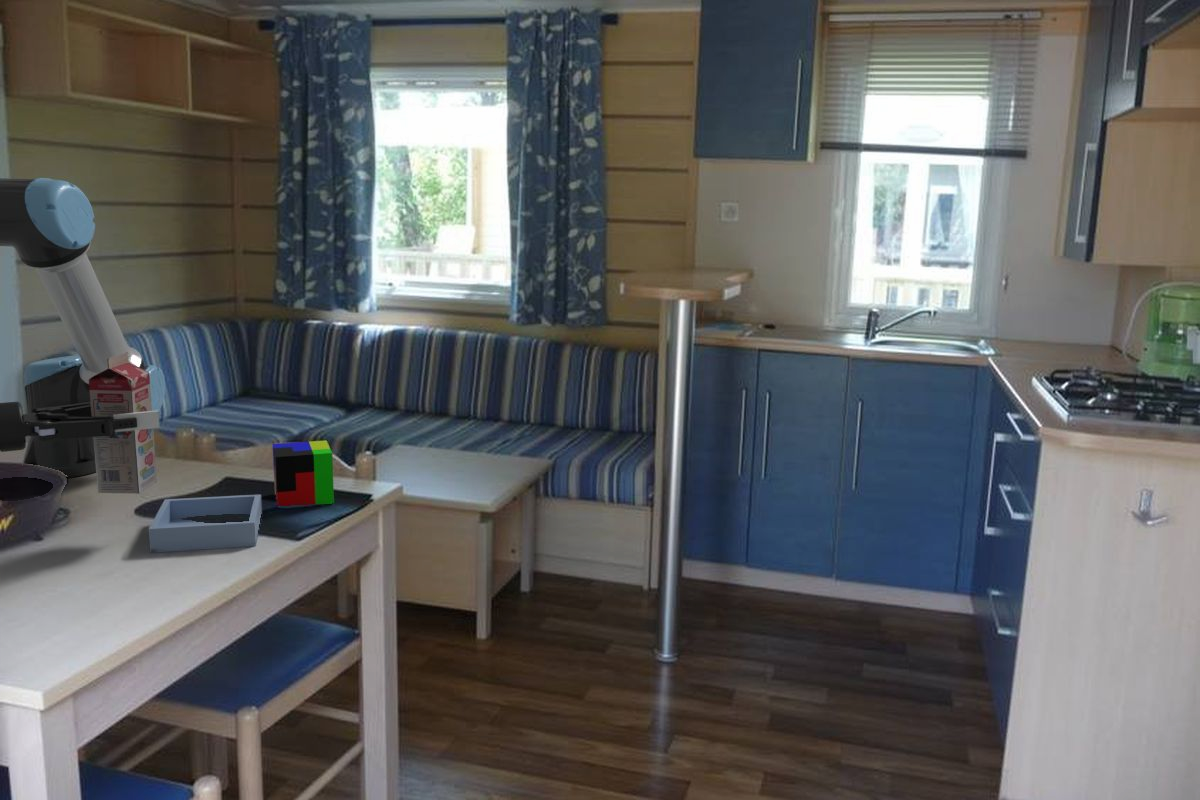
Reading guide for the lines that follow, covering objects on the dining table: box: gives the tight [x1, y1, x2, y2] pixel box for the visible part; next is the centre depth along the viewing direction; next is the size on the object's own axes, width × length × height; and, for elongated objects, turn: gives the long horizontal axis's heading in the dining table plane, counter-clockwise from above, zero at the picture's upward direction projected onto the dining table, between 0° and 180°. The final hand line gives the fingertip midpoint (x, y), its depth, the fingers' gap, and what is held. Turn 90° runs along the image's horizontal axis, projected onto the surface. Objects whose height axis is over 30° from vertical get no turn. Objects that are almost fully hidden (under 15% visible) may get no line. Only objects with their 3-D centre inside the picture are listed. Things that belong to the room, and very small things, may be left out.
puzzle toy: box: [272, 439, 335, 507], centre depth 188 cm, size 10×10×10 cm
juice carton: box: [89, 352, 158, 495], centre depth 162 cm, size 7×7×22 cm
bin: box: [148, 494, 263, 554], centre depth 169 cm, size 16×16×4 cm
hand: (152, 413), depth 164 cm, fingers closed on juice carton, 9 cm apart
